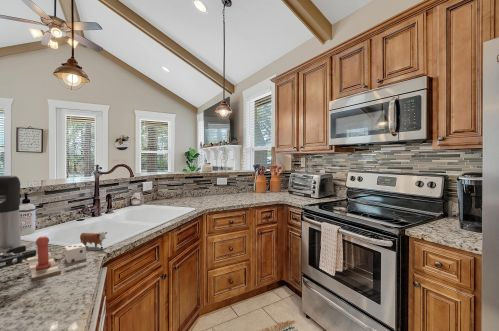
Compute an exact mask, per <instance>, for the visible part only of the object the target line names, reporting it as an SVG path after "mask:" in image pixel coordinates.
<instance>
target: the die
mask: <svg viewBox="0 0 499 331" xmlns="http://www.w3.org/2000/svg"><path fill="white" fill-rule="evenodd" d="M64 259H65V261H66V262H67V263H68V264H70V263H74V262H78V261H82V260H86V259H87V245H86V246H85V245H84V244H83V243H81V242H79V243H75V244H70V245H65V246H64Z"/></svg>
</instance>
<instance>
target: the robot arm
mask: <svg viewBox="0 0 499 331" xmlns="http://www.w3.org/2000/svg"><path fill="white" fill-rule="evenodd" d="M0 197H5V200H3V201H2V202H0V270H1V269H3V268H7V267H8V268H9V267H12V266H16V265H18V264H22V263H23V260H28V259H27V258H31V257H34V256H36V255H37V250H35V249H31V250H28V251H27V247H26V245H24V244H23V245H22V242H21V241H22V240H21V234H22V233H21V216H20V215H21V214H20V204H21V181H20V179H19V177H18V176H16V175H0Z"/></svg>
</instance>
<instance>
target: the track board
mask: <svg viewBox="0 0 499 331" xmlns="http://www.w3.org/2000/svg"><path fill="white" fill-rule="evenodd" d="M48 258H49V262H51V266H50V267H49V268H46V269H42V270H37V269H36V265H37V264H38V253H36V256H34V257H31V258H27V259H26V260H27V264H28V266H29V269H30V273H31V275H30V276H29V278H30V280H31V282H33V281H38V280H40V279H45V278H48V277H51V276H56V275H59V274H61V273H62V271H61V268H59V267H58V264H57V263H56V261H55V259H54V257H53V255H52V253H51V251H48Z"/></svg>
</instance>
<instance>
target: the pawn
mask: <svg viewBox="0 0 499 331" xmlns="http://www.w3.org/2000/svg"><path fill="white" fill-rule="evenodd" d="M49 243H50V239H49V237H48V236H47V235H44V236H43V235H42V236H39V237H38V238H37V239H36V240H35V244H36V246H37V254H38V264H37V265H36V269H37V270H40V271H41V270H42V269H44V270H45V269H46V268H49V267H50V266H51V262H49V258H48V252H49Z"/></svg>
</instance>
